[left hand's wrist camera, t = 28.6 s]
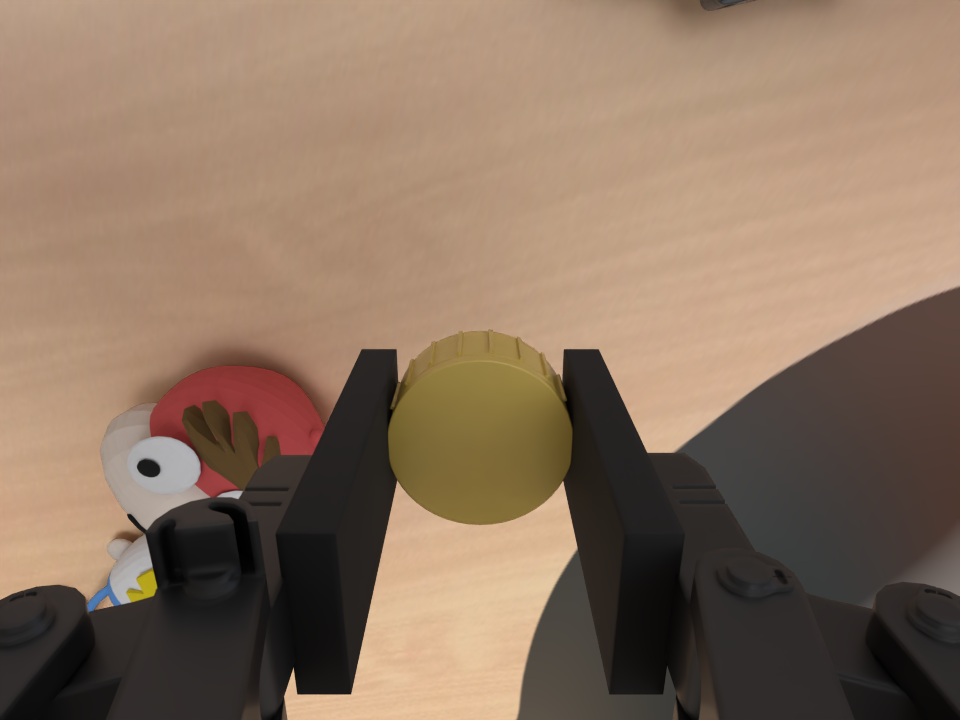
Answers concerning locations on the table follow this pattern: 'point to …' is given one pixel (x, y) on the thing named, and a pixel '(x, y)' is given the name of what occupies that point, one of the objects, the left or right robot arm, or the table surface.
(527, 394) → the cap
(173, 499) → the toy
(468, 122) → the table surface
